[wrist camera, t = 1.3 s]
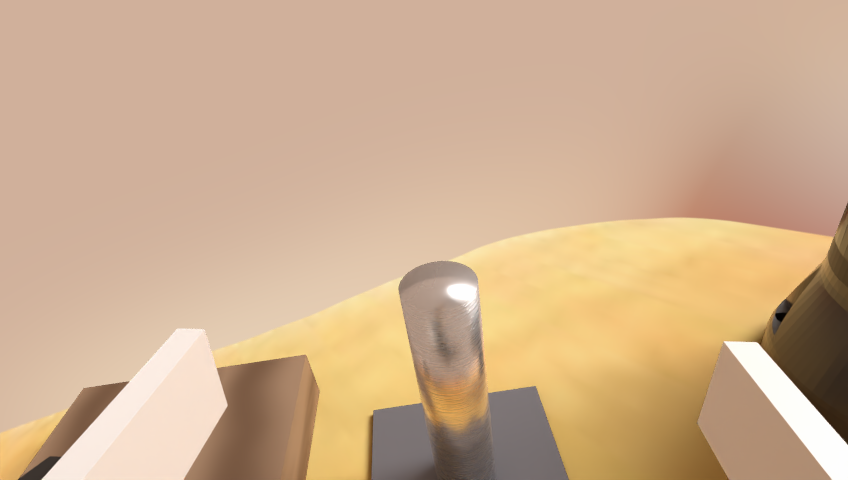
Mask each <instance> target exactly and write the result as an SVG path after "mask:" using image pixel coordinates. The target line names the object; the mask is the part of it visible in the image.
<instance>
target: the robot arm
mask: <svg viewBox="0 0 848 480" xmlns="http://www.w3.org/2000/svg"><path fill="white" fill-rule="evenodd" d="M227 406H228V405H227V401H226V398H225V395H224V391H223V388H222V385H221V381H220V378H219V375H218V371H217V368H216V365H215V361H214V358H213V355H212V352H211V348H210V345H209V342H208V339H207V335H206V332H205V329H177V330H176V331H175V332H174V333H173V334H172V335H171V336H170V337H169V338H168V340H167V341H166V342H165V343H164V344H163V345H162V346H161V347H160V348H159V350H158V351H157V352H156V353H155V354H154V355H153V356H152V357H151V358H150V360H149V361H148V362H147V363H146V364H145V365H144V366H143V367H142V368H141V370H140V371H139V372H138V373H137V374H136V375H135V376H134V377H133V378H132V380H131V381H130V382H129V383H128V384H127V385H126V386H125V387H124V388H123V390H122V391H121V392H120V393H119V394H118V395H117V396H116V397H115V398H114V400H113V401H112V402H111V403H110V404H109V405H108V406H107V407H106V408H105V410H104V411H103V412H102V413H101V414H100V415H99V416H98V417H97V419H96V420H95V421H94V422H93V423H92V424H91V425H90V426H89V427H88V429H87V430H86V431H85V432H84V433H83V434H82V435H81V436H80V437H79V439H78V440H77V441H76V442H75V443H74V444H73V445H72V446H71V447H70V449H69V450H68V451H67V452H66V453H65V454H64V455H63V456H62V457H57V456H49V457H48V458H47V459H45V460H44V461H42V462H41V463H40V464H38V465H37V466H36V467H34V468H33V469H31V470H30V471H29V472H27V473H26V474H24V475H23V476H22V477H20V478H19V479H18V480H184V478H185V476H186V475H187V473H188V471H189V470H190V468H191V466H192V465H193V463H194V461H195V459H196V458H197V456H198V454H199V453H200V451H201V449H202V448H203V446H204V444H205V443H206V441H207V439H208V438H209V436H210V434H211V433H212V431H213V429H214V428H215V426H216V424H217V423H218V421H219V419H220V418H221V416H222V414H223V413H224V411H225V409H226V408H227ZM697 424H698V426H699V428H700V429H701V431H702V433H703V435H704V436H705V438H706V440H707V442H708V443H709V445H710V447H711V449H712V451H713V452H714V454H715V456H716V458H717V459H718V461H719V463H720V465H721V466H722V468H723V470H724V472H725V474H726V475H727V477H728V479H729V480H848V203H847V206H846V208H845V211H844V213H843V216H842V218H841V221H840V223H839V225H838V228H837V230H836V234H835V236H834V239H833V241H832V244H831V247H830V249H829V251H828V254H827V256H826V258H825V260H824V261H823V262H822V263H821V264H820V265H819V266H818V267H817V268H816V269H815V270H814V271H813V272H812V273H811V274H810V275H809V276H808V277H807V278H806V279H805V280H804V281H803V282H802V283H801V284H800V285H799V286H798V287H797V288H796V289H795V290H794V291H793V292H792V293H791V294H790V295H789V296H788V297H787V298H786V299H785V300H784V301H783V302H782V303H781V304H780V305H779V306H778V307H777V308H776V309H775V311H774V312H773V314H772V315H771V317H770V319H769V322H768V324H767V327H766V330H765V333H764V336H763V339H762V342H761V346H760V345H759V344H758V343H757V342H728V341H724V342H723V345H722V348H721V351H720V354H719V357H718V360H717V363H716V366H715V369H714V372H713V375H712V378H711V381H710V385H709V388H708V391H707V394H706V397H705V400H704V403H703V406H702V409H701V412H700V415H699V418H698V421H697Z"/></svg>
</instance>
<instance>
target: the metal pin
mask: <svg viewBox="0 0 848 480" xmlns="http://www.w3.org/2000/svg"><path fill="white" fill-rule="evenodd" d="M399 295H400V300H401V305H402V309H403V314H404V319H405V324H406V329H407V334H408V339H409V343H410V348H411V353H412V358H413V363H414V368H415V372H416V377H417V382H418V387H419V392H420V397H421V401H422V406H423V411H424V416H425V421H426V426H427V430H428V435H429V440H430V445H431V450H432V455H433V460H434V464H435V469H436V474H437V479H438V480H496V472H495V461H494V450H493V439H492V428H491V417H490V406H489V396H488V385H487V374H486V363H485V352H484V341H483V330H482V319H481V309H480V298H479V287H478V278H477V276H476V274H475V272H474V271H473V270H472V269H470V268H469V267H467V266H465V265H463V264H460V263H456V262H450V261H438V262H431V263H427V264H424V265H421V266H419V267H416V268H415V269H413V270H411V271H410V272H408V273H407V274H406V275H405V276H404V277H403V279H402V280H401V282H400V284H399Z"/></svg>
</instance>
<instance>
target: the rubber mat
mask: <svg viewBox="0 0 848 480" xmlns="http://www.w3.org/2000/svg"><path fill="white" fill-rule="evenodd" d="M488 396H489V406H490V417H491V428H492V439H493V450H494V461H495V472H496V480H569V479H568V476H567V473H566V471H565V468H564V465H563V462H562V459H561V457H560V454H559V451H558V448H557V445H556V442H555V440H554V437H553V434H552V431H551V428H550V426H549V423H548V420H547V417H546V414H545V411H544V409H543V406H542V403H541V400H540V397H539V395H538V392H537V389H536V386H533V387H526V388H520V389H513V390H506V391H500V392H493V393H488ZM372 480H438V479H437V474H436V469H435V464H434V460H433V455H432V450H431V445H430V440H429V435H428V430H427V426H426V421H425V416H424V411H423V406H422V403H420V404H413V405H406V406H399V407H393V408H386V409H379V410H374V411H373V446H372Z"/></svg>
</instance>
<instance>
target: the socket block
mask: <svg viewBox="0 0 848 480" xmlns="http://www.w3.org/2000/svg"><path fill="white" fill-rule="evenodd" d="M217 371H218V375H219V378H220V381H221V385H222V388H223V391H224V395H225V398H226V401H227V405H228V406H227V408H226V409H225V411H224V413H223V414H222V416H221V418H220V419H219V421H218V423H217V424H216V426H215V428H214V429H213V431H212V433H211V434H210V436H209V438H208V439H207V441H206V443H205V444H204V446H203V448H202V449H201V451H200V453H199V454H198V456H197V458H196V459H195V461H194V463H193V465H192V466H191V468H190V470H189V471H188V473H187V475H186V476H185V479H184V480H306V474H307V467H308V461H309V454H310V448H311V442H312V435H313V429H314V423H315V416H316V410H317V404H318V397H319V388H318V385H317V383H316V380H315V377H314V375H313V372H312V369H311V367H310V364H309V361H308V359H307V356H306V355H301V356H294V357H288V358H281V359H274V360H268V361H261V362H254V363H248V364H241V365H235V366H228V367H221V368H217ZM129 382H130V381H129ZM129 382H122V383H116V384H109V385H102V386H96V387H89V388H84V389H83V390H82V391H81V393H80V394H79V396H78V397H77V398H76V400H75V401H74V403H73V404H72V405H71V407H70V408H69V410H68V411H67V412H66V414H65V415H64V417H63V418H62V419H61V421H60V422H59V423H58V425H57V426H56V428H55V429H54V430H53V432H52V433H51V435H50V436H49V437H48V439H47V440H46V442H45V443H44V444H43V446H42V447H41V449H40V450H39V451H38V453H37V454H36V456H35V457H34V458H33V460H32V461H31V463H30V464H29V465H28V467H27V468H26V470H25V471H24V472H23V474H22V475H21V477H22V476H23V475H24V474H26V473H27V472H29V471H30V470H31V469H33V468H34V467H36V466H37V465H38V464H40V463H41V462H42V461H44V460H45V459H47V458H48V457H49V456H57V457H62V456H63V455H64V454H65V453H66V452H67V451H68V450H69V449H70V447H71V446H72V445H73V444H74V443H75V442H76V441H77V440H78V439H79V437H80V436H81V435H82V434H83V433H84V432H85V431H86V430H87V429H88V427H89V426H90V425H91V424H92V423H93V422H94V421H95V420H96V419H97V417H98V416H99V415H100V414H101V413H102V412H103V411H104V410H105V408H106V407H107V406H108V405H109V404H110V403H111V402H112V401H113V400H114V398H115V397H116V396H117V395H118V394H119V393H120V392H121V391H122V390H123V388H124V387H125V386H126V385H127V384H128V383H129Z"/></svg>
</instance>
